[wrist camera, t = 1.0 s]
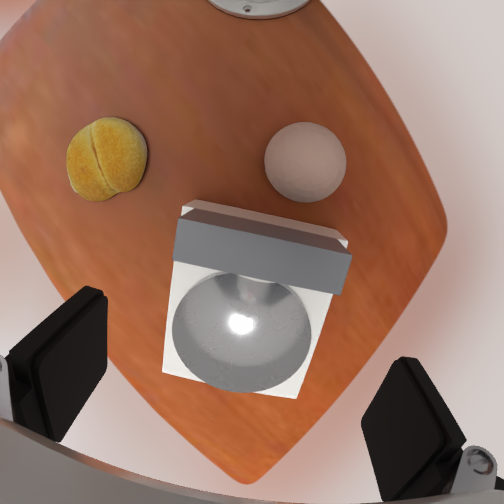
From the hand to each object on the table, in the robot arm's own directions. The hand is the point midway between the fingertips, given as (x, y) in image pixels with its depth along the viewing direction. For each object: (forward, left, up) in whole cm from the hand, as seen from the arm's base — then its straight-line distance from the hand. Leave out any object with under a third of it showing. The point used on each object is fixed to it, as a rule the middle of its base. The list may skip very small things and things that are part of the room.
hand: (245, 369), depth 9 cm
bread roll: (-4, -17, -23) cm, 29 cm away
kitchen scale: (+7, 0, -23) cm, 24 cm away
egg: (-7, +2, -23) cm, 24 cm away
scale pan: (+9, 0, -18) cm, 20 cm away
